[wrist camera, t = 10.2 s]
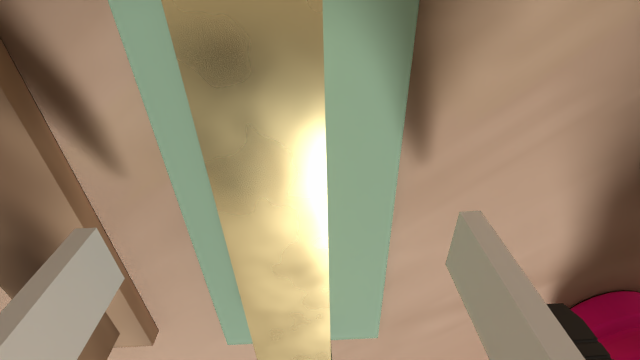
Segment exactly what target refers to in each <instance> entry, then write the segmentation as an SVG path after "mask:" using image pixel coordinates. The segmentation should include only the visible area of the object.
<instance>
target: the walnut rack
mask: <svg viewBox="0 0 640 360" xmlns="http://www.w3.org/2000/svg"><path fill="white" fill-rule="evenodd" d="M77 228H97V229H98V231H99V233H100V235H101V237H102V238H103V240H104V242H105V244H106V246H107V247H108V249H109V251H110V253H111V255H112V256H113V258H114V260H115V262H116V264H117V265H118V267H119V269H120V271H121V273H122V274H123V276H124V278H125V279H124V280H123V282H122V284H121V286H120V287H119V289H118V291H117V292H116V294H115V296H114V297H113V299H112V301H111V303H110V304H109V306H108V308H107V309H106V311H105V313H104V314H103V316H102V318H101V320H100V321H99V323H98V325H97V326H96V328H95V330H94V331H93V333H92V335H91V337H90V338H89V340H88V342H87V343H86V345H85V347H84V348H83V350H82V352H81V354H80V355H79V357H78V359H77V360H107V358H108V356H109V354H110V352H111V350H112V348H116V347H138V346H153V344H154V341H155V339H156V336H157V334H158V332H159V330H158V329H157V327H156V325H155V323H154V321H153V319H152V318H151V316H150V314H149V312H148V310H147V308H146V307H145V305H144V303H143V301H142V299H141V297H140V295H139V294H138V292H137V290H136V288H135V286H134V284H133V283H132V281H131V279H130V277H129V275H128V273H127V271H126V270H125V268H124V266H123V264H122V262H121V260H120V259H119V257H118V255H117V253H116V251H115V249H114V247H113V246H112V244H111V242H110V240H109V238H108V236H107V235H106V233H105V231H104V229H103V227H102V225H101V224H100V222H99V220H98V218H97V216H96V214H95V212H94V211H93V209H92V207H91V205H90V203H89V201H88V200H87V198H86V196H85V194H84V192H83V190H82V188H81V187H80V185H79V183H78V181H77V179H76V177H75V176H74V174H73V172H72V170H71V168H70V166H69V164H68V163H67V161H66V159H65V157H64V155H63V153H62V152H61V150H60V148H59V146H58V144H57V142H56V140H55V139H54V137H53V135H52V133H51V131H50V129H49V128H48V126H47V124H46V122H45V120H44V118H43V117H42V115H41V113H40V111H39V109H38V107H37V105H36V104H35V102H34V100H33V98H32V96H31V94H30V93H29V91H28V89H27V87H26V85H25V83H24V81H23V80H22V78H21V76H20V74H19V72H18V70H17V69H16V67H15V65H14V63H13V61H12V59H11V57H10V56H9V54H8V52H7V50H6V48H5V46H4V45H3V43H2V41H1V39H0V287H1V288H2V289H3V290H4V291H5V292H6V293H7V294H8V295H9V297H10V298H11V299H13V298H14V297H15V296H16V295H17V293H18V292H19V291H20V290H21V289H22V288H23V287H24V286H25V284H26V283H27V282H28V281H29V280H30V279H31V278H32V277H33V275H34V274H35V273H36V272H37V271H38V270H39V269H40V268H41V266H42V265H43V264H44V263H45V262H46V261H47V260H48V259H49V257H50V256H51V255H52V254H53V253H54V252H55V251H56V250H57V248H58V247H59V246H60V245H61V244H62V243H63V242H64V241H65V239H66V238H67V237H68V236H69V235H70V234H71V233H72V232H73V230H74V229H77Z"/></svg>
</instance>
